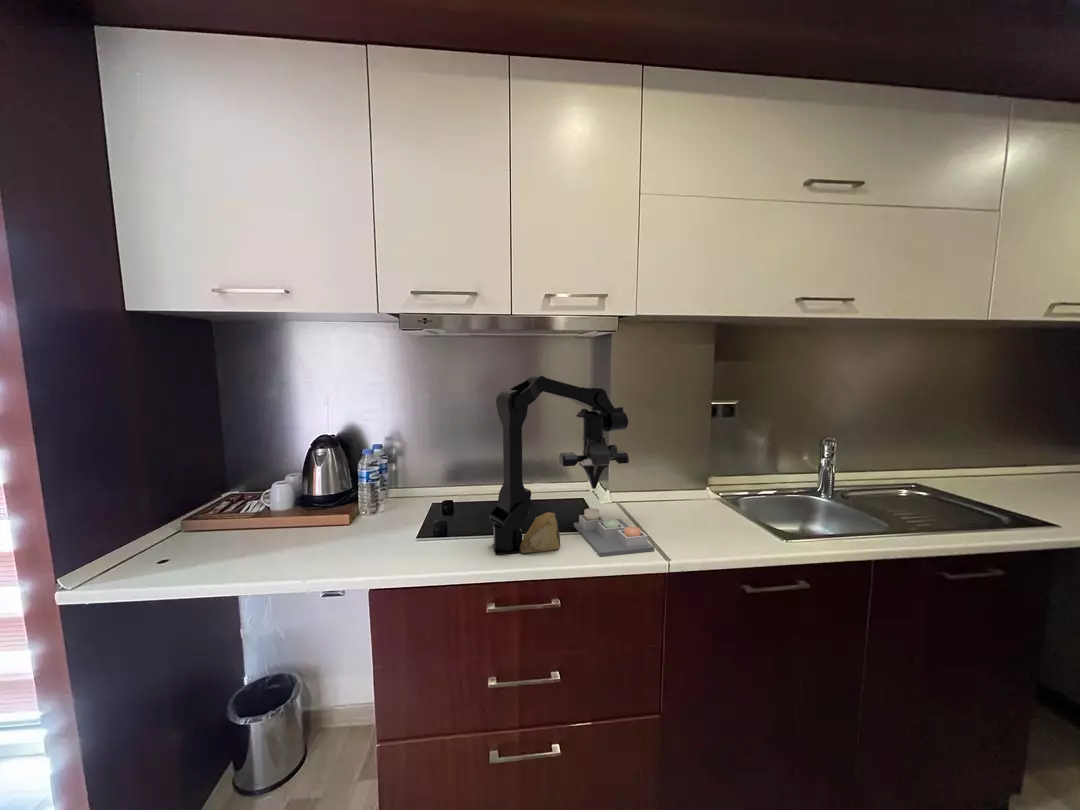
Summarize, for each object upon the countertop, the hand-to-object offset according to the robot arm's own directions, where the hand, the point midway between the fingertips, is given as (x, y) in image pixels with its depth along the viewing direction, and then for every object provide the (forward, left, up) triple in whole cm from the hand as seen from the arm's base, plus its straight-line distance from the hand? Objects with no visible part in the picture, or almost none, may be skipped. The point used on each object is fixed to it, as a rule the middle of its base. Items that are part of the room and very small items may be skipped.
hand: (593, 488), depth 127 cm
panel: (+2, -8, -12) cm, 14 cm away
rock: (-18, -11, -12) cm, 24 cm away
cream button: (-1, -1, -9) cm, 9 cm away
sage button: (+2, -8, -10) cm, 13 cm away
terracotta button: (+5, -15, -10) cm, 19 cm away
